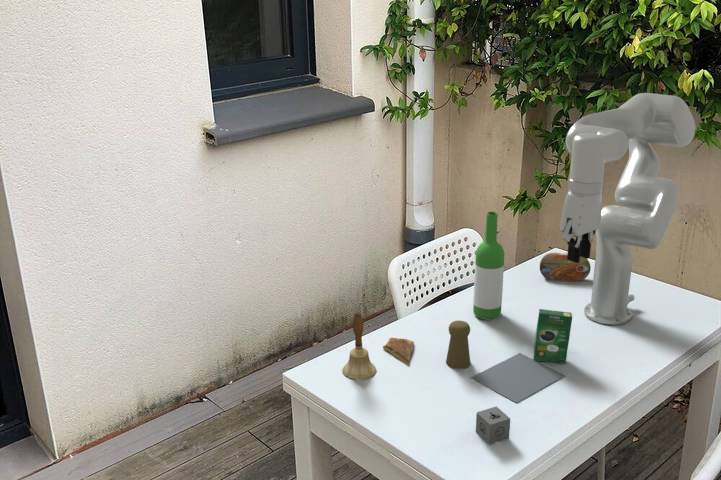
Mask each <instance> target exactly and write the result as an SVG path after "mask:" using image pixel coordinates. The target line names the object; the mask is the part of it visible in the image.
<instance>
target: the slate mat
mask: <svg viewBox="0 0 721 480" xmlns="http://www.w3.org/2000/svg"><path fill="white" fill-rule="evenodd" d="M564 377H566V374H564V373H563V372H560V371H558V370H556V369H555V368H552V367H550V366H548V365H547V364H544V363H542V362H541V361H539V360H534V358H531V357H529V356H527V355H525V354H523V353H521V352H519V353H517V354H515V355H513V356H510V357H509V358H507V359H504V360H503V361H501V362H499V363H497V364H495V365H493V366H490V367H489V368H487V369H485V370H483V371H481V372H479V373H477V374H475V375H473V376H471V377H470V379H471V380H473V381H475V382H477V383H479V384H480V385H481V386H482V385H483V386H484V387H486V388H488V389H490V390H491V391H494V393H497V394H499V395H500V396H502V397H504V398H506V399H508V400H509V401H512V402H513V403H515V404H518V403H520V402H522V401H523V400H525V399H527V398H528V397H531V396H532V395H534V394H536V393H537V392H539V391H541V390H542V389H545V388H547V387H548V386H550V385H552V384H554V383H555V382H557V381H559V380H562V379H563V378H564Z"/></svg>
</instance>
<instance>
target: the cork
mask: <svg viewBox="0 0 721 480" xmlns="http://www.w3.org/2000/svg"><path fill="white" fill-rule="evenodd" d="M470 333H471V327H470V324H469V323H468V322H466V321H465V320H464V321H463V320H454V321H451V323H450V324H449V326H448V334H449V335H450V337H449V343H448V349H447V353H446V358H445V359H446V360H445V364H446V365H447V367H449V368H452V369H455V370H464V369H467V368H468V367H470V366H471V356H470V347H469V346H470V345H469V338H468V337H469V336H470Z"/></svg>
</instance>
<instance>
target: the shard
mask: <svg viewBox="0 0 721 480" xmlns="http://www.w3.org/2000/svg"><path fill="white" fill-rule="evenodd" d="M414 344H415V340H414V341H413V340H410V339H407V338H398V337H389V338H388V340H387V342H386V343H385V345H383V346H382V349H383V350H385V351H386V352H388V353H391V354H392V355H393V356H394V357H395V356H396V358H397V359H398V360H400V361H401V362H403V363H405V364H407V365H409V364H408V363H410V360H411V359H410V358H411V355H412V352H413V349H414Z"/></svg>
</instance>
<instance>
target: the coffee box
mask: <svg viewBox="0 0 721 480" xmlns="http://www.w3.org/2000/svg"><path fill="white" fill-rule="evenodd" d="M538 310H539V312H538V317H537V323H536V331H535V340H534V348H533V359H534V360H536V361H538V362H549V363H557V364H566V362H567V357H568V349H569V344H570V337H571V329H572V321H573V315H572V314H573V313H572V312H569V311H561V310H560V311H559V310H551V309H543V308H539V309H538Z"/></svg>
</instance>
